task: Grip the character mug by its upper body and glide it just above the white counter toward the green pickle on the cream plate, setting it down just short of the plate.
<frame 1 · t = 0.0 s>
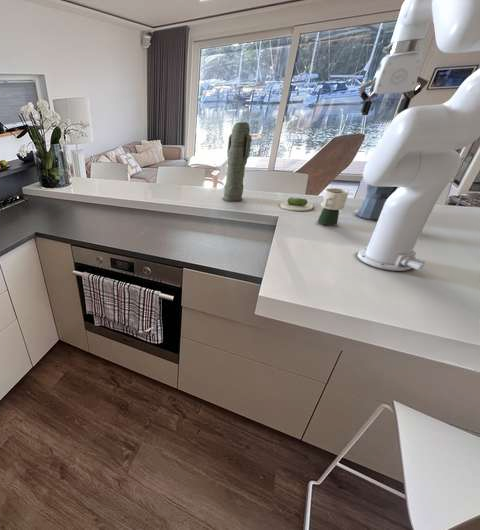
hand: (382, 114, 93), 37 cm above the countertop, tool pointing down, fingers open, 9 cm apart
moka pot: (371, 217, 113), on the countertop
green cactus figure: (232, 199, 146), on the countertop
pickle: (297, 201, 129), on the plate, point 2 cm above the countertop
character mug: (326, 224, 111), on the countertop
plate: (296, 206, 130), on the countertop
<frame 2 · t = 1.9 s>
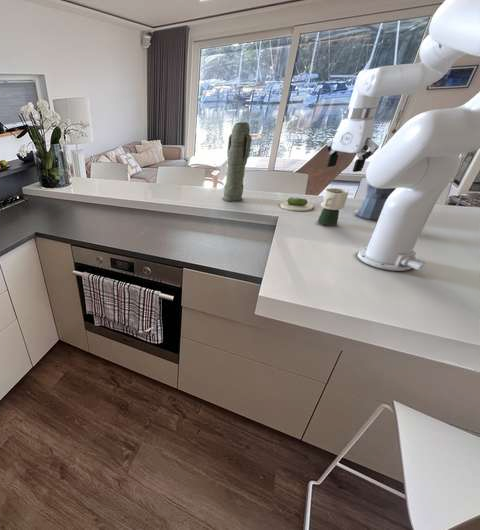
hand: (343, 168, 101), 21 cm above the countertop, tool pointing down, fingers open, 9 cm apart
nothing on the countertop moved.
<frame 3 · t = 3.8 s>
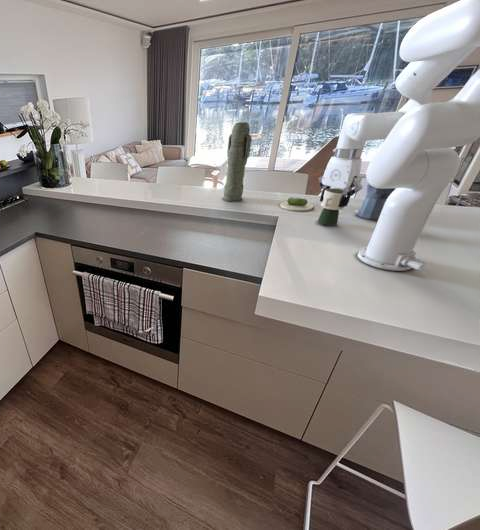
hand: (332, 203, 107), 8 cm above the countertop, tool pointing down, fingers closed on character mug, 7 cm apart
character mug: (326, 224, 111), on the countertop, touching gripper
everything else where it was.
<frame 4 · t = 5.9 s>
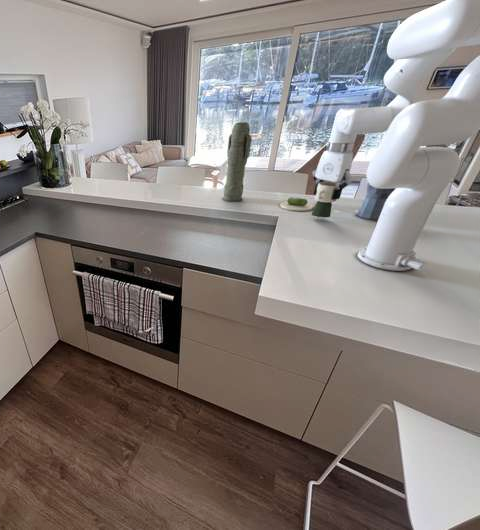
hand: (325, 196, 110), 10 cm above the countertop, tool pointing down, fingers closed on character mug, 7 cm apart
character mug: (320, 216, 114), point 1 cm above the countertop, touching gripper
everything else where it was.
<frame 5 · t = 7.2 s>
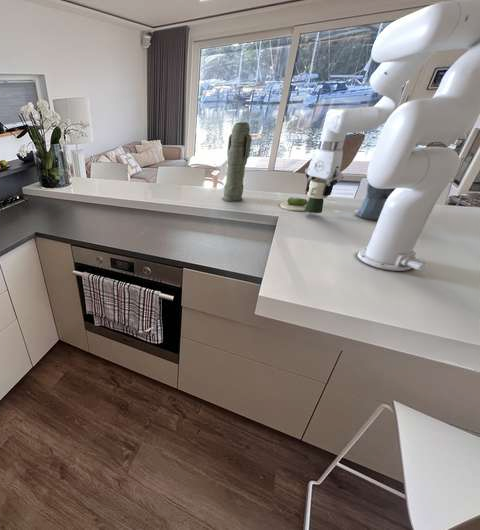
hand: (317, 192, 115), 9 cm above the countertop, tool pointing down, fingers closed on character mug, 7 cm apart
character mug: (312, 212, 119), point 1 cm above the countertop, touching gripper
everything else where it was.
when the fingers open (8 cm above the countertop, at t = 8.2 s): character mug stays where it is, on the countertop.
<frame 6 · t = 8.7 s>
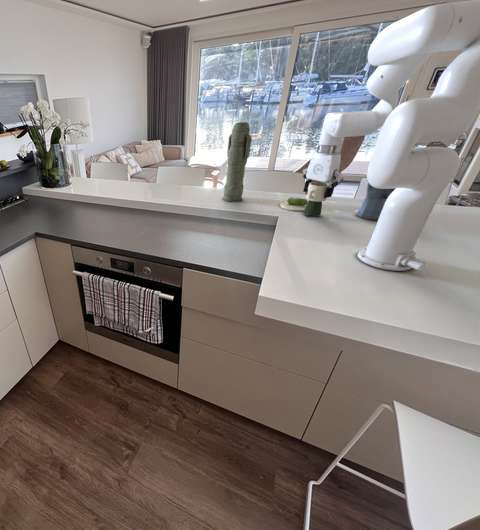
hand: (316, 194, 116), 9 cm above the countertop, tool pointing down, fingers open, 9 cm apart
character mug: (311, 215, 120), on the countertop
everything else where it was.
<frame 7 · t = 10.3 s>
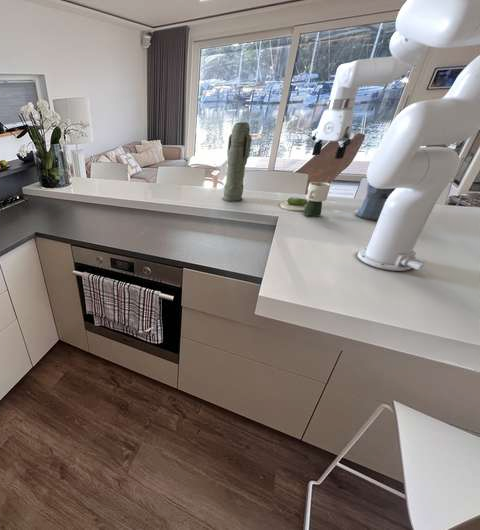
hand: (326, 156, 109), 23 cm above the countertop, tool pointing down, fingers open, 9 cm apart
nothing on the countertop moved.
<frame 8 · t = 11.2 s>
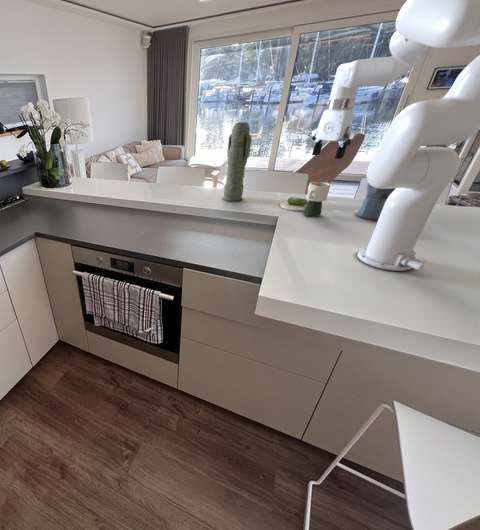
hand: (326, 156, 109), 23 cm above the countertop, tool pointing down, fingers open, 9 cm apart
nothing on the countertop moved.
at the end: character mug 11.6 cm from the pickle (horizontally); character mug moved 10.3 cm from its start; character mug tilted 0° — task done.
